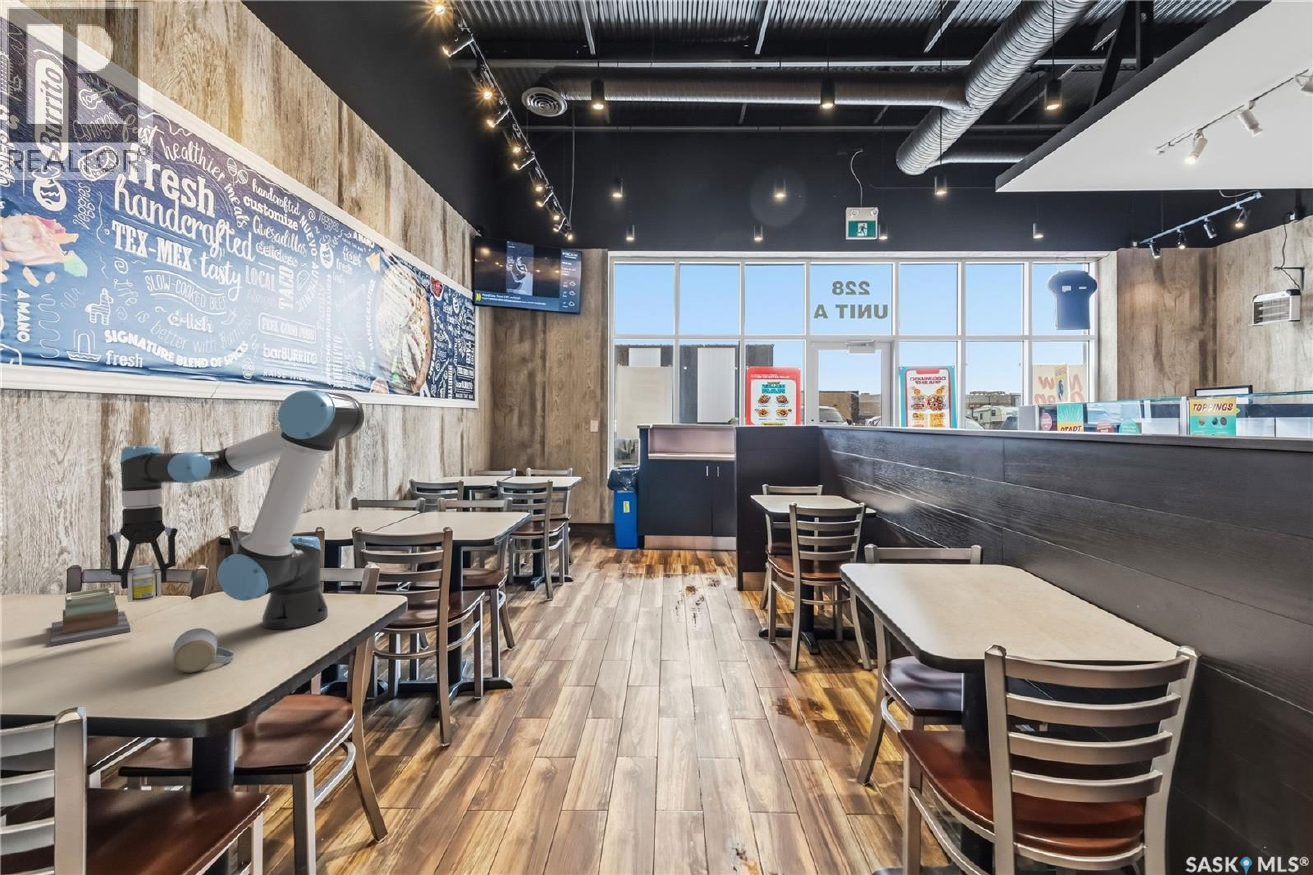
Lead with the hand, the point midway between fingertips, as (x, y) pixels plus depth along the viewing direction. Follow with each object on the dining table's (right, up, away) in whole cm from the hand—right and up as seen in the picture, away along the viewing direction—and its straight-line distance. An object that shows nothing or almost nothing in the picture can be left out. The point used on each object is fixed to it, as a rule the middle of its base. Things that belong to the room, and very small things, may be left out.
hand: (144, 598), depth 144 cm
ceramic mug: (+30, -10, -19) cm, 37 cm away
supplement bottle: (0, -1, 0) cm, 1 cm away
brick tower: (-18, -9, +5) cm, 21 cm away
